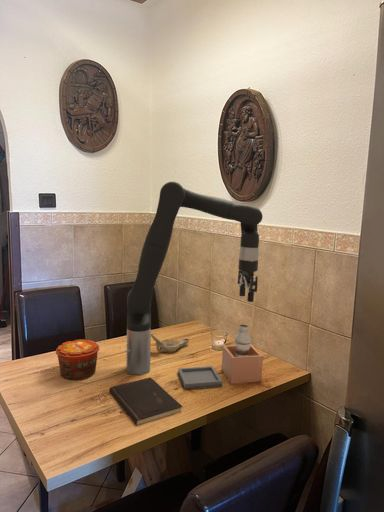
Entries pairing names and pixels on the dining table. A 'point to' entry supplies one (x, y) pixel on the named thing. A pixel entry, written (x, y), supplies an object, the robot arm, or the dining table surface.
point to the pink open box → (242, 365)
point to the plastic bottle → (242, 341)
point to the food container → (77, 359)
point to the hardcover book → (144, 400)
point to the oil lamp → (169, 344)
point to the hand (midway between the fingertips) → (246, 298)
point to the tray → (199, 377)
